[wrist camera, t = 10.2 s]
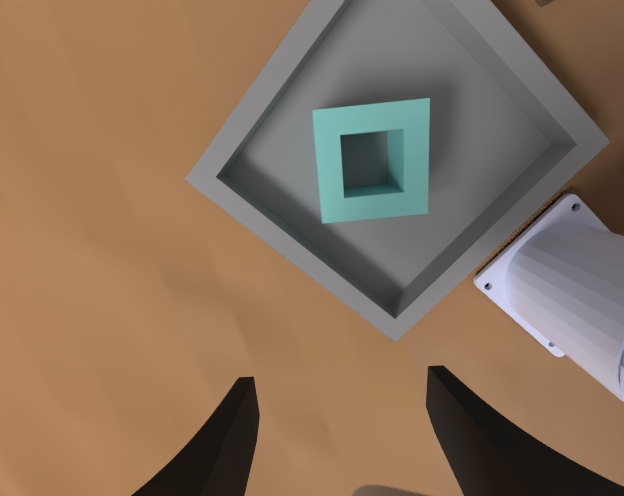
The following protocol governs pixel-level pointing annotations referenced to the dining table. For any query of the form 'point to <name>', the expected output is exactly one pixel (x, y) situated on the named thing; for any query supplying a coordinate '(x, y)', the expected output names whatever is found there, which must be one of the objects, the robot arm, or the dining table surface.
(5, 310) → the dining table surface
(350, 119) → the collar
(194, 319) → the dining table surface
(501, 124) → the tray
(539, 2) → the stake board
